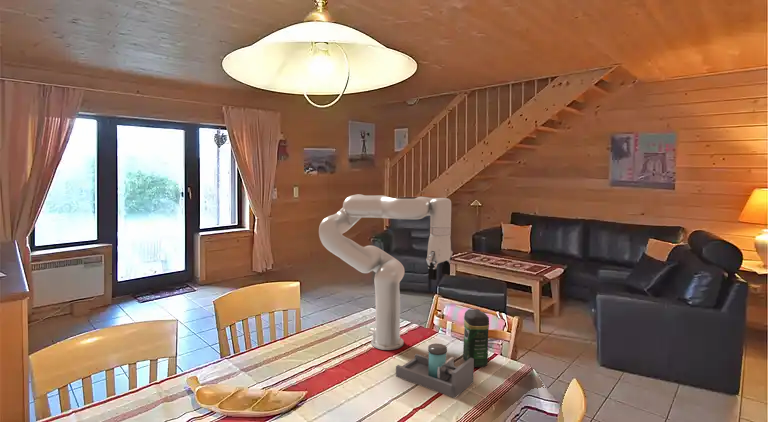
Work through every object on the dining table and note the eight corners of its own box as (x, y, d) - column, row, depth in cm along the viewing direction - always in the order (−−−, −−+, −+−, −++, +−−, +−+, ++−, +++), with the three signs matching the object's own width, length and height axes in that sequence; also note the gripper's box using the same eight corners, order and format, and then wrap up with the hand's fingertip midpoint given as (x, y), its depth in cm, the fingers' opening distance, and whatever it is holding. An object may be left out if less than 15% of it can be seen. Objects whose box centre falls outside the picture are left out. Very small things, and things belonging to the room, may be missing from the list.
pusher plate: (437, 384, 139) (437, 367, 138) (451, 373, 146) (451, 356, 145) (447, 388, 136) (448, 370, 136) (461, 377, 144) (462, 360, 143)
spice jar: (424, 377, 144) (424, 347, 142) (433, 371, 148) (434, 342, 147) (439, 383, 140) (440, 353, 139) (449, 376, 145) (450, 346, 143)
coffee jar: (490, 367, 153) (492, 316, 151) (468, 368, 152) (470, 316, 150) (481, 355, 163) (482, 306, 161) (460, 356, 162) (461, 307, 160)
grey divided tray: (395, 376, 147) (396, 353, 146) (416, 363, 156) (416, 341, 155) (454, 398, 133) (455, 373, 132) (473, 382, 143) (473, 358, 142)
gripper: (443, 227, 172) (442, 270, 174) (419, 233, 158) (418, 279, 160) (460, 229, 167) (459, 273, 169) (437, 235, 154) (436, 283, 156)
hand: (439, 276), depth 165 cm, fingers open, 9 cm apart
